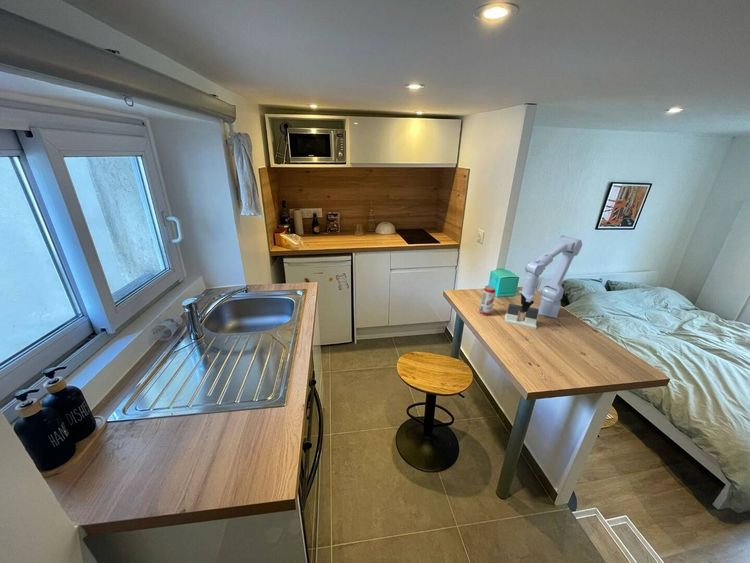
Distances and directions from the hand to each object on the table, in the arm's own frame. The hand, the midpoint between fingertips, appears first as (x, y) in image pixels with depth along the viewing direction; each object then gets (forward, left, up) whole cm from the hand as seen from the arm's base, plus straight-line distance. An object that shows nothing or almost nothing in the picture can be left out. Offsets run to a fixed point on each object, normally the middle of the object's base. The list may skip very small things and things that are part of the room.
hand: (523, 308), depth 151 cm
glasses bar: (0, 0, -4) cm, 5 cm away
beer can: (+18, -2, -9) cm, 20 cm away
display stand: (0, 0, -8) cm, 8 cm away
